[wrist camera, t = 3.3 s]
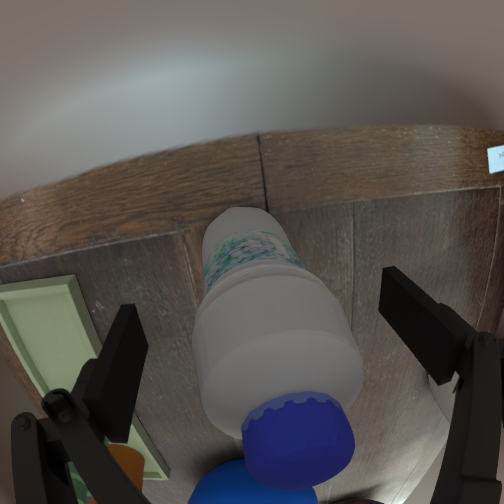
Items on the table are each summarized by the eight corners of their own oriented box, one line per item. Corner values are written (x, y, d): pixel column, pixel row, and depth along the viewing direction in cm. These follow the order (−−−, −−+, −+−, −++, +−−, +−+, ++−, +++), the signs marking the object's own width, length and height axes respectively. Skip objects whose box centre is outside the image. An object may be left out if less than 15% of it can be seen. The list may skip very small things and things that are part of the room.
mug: (424, 352, 34) (465, 404, 25) (473, 327, 34) (516, 369, 25) (413, 408, 39) (442, 454, 30) (457, 385, 39) (488, 425, 30)
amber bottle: (92, 444, 33) (74, 540, 18) (129, 442, 33) (117, 547, 18) (117, 466, 35) (106, 554, 20) (152, 464, 35) (148, 559, 20)
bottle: (258, 288, 27) (326, 515, 9) (186, 257, 25) (158, 504, 7) (297, 220, 25) (456, 413, 7) (223, 183, 23) (267, 380, 5)
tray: (-3, 284, 24) (-13, 294, 22) (75, 273, 25) (67, 284, 23) (108, 467, 36) (106, 477, 35) (169, 469, 37) (169, 480, 35)
